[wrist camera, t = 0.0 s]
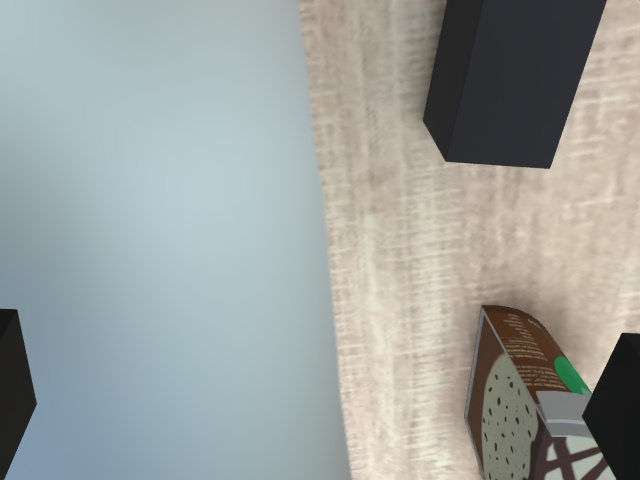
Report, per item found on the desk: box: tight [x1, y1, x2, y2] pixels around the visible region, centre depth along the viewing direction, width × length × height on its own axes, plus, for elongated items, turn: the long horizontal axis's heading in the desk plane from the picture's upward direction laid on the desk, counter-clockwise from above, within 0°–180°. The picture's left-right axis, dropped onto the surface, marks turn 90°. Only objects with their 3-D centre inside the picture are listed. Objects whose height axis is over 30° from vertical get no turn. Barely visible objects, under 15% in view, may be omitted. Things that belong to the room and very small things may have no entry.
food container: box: [464, 306, 616, 480], centre depth 33 cm, size 12×6×10 cm, turn 1°
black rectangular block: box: [423, 0, 607, 169], centre depth 25 cm, size 8×4×4 cm, turn 174°
